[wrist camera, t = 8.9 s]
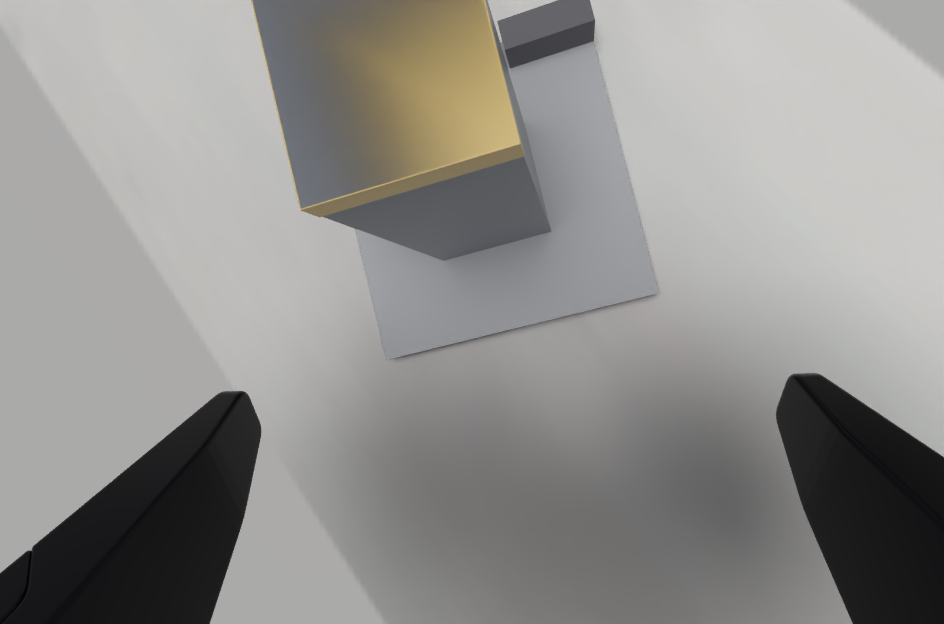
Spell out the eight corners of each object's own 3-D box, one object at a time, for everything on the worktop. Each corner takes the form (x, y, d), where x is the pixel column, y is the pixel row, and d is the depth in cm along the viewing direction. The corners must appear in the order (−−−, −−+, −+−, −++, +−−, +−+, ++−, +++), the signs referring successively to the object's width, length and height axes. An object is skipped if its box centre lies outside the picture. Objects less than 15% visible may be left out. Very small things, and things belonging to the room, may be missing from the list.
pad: (655, 293, 21) (665, 291, 18) (394, 357, 23) (372, 363, 20) (586, 27, 21) (587, -10, 19) (335, 111, 23) (306, 87, 21)
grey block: (552, 232, 20) (520, 143, 10) (443, 261, 21) (300, 210, 10) (524, 121, 21) (462, -87, 10) (417, 154, 21) (249, -6, 11)
